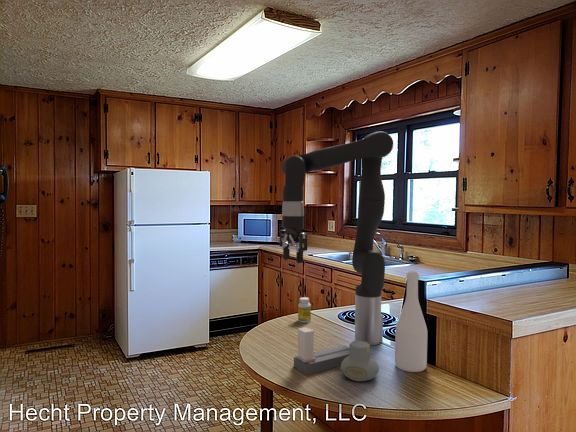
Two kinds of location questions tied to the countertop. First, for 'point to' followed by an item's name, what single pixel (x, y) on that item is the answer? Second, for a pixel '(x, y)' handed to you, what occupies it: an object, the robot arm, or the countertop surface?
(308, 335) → the fader tab
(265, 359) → the countertop surface
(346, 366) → the air freshener
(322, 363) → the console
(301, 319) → the supplement bottle
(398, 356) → the wine bottle
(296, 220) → the robot arm
